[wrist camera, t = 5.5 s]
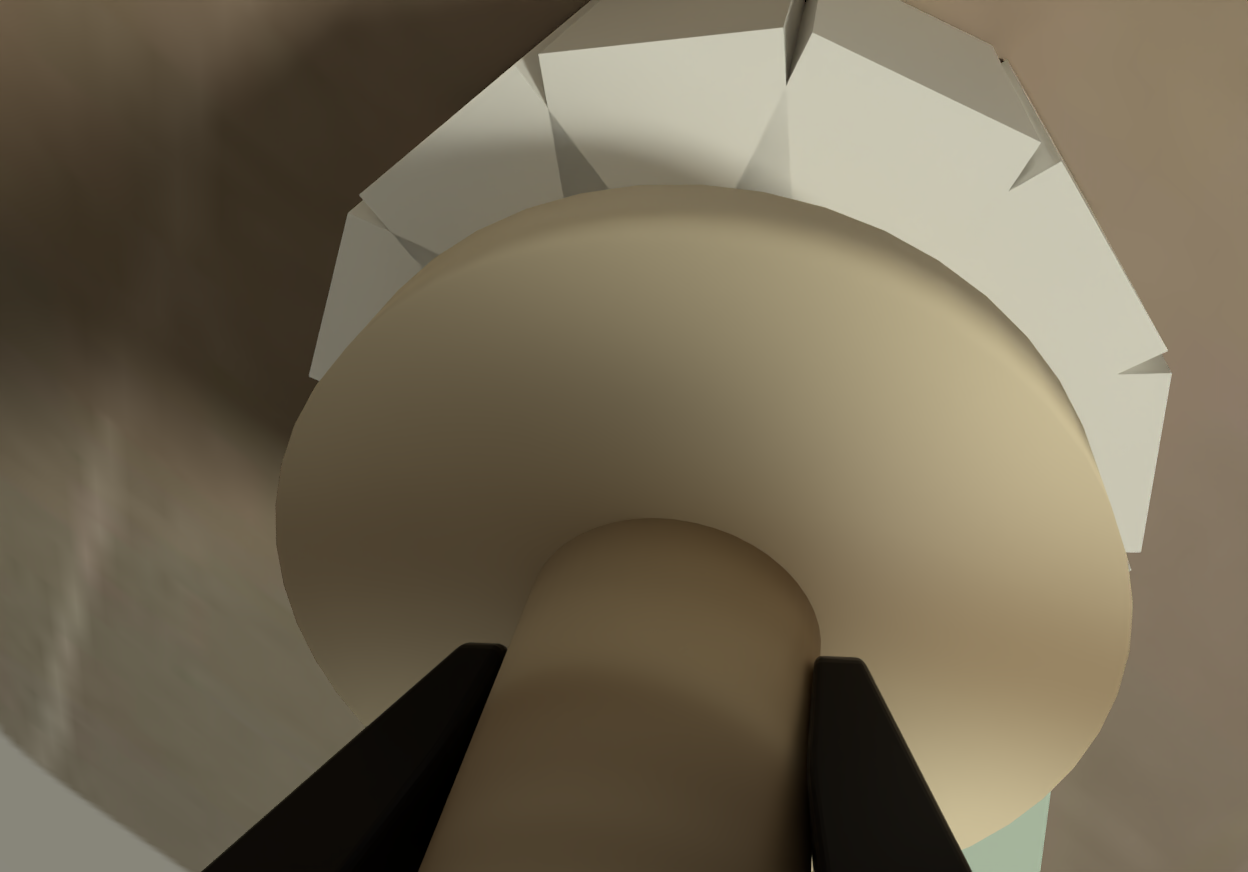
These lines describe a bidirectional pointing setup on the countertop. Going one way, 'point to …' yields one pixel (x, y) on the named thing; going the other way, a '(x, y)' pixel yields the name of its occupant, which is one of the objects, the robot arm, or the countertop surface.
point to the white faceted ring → (792, 175)
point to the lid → (703, 527)
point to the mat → (1013, 844)
